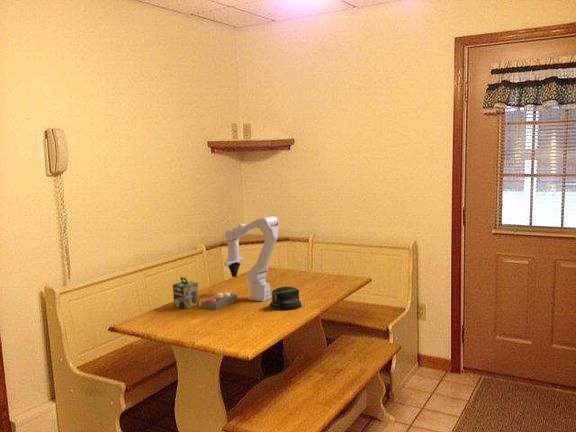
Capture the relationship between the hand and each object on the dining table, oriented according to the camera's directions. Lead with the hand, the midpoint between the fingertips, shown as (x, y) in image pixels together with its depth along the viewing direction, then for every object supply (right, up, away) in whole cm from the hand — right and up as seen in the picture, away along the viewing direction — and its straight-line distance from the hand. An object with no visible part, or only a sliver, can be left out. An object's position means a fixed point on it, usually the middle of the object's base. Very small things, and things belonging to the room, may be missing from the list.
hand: (234, 276), depth 288 cm
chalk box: (-22, -13, -18) cm, 31 cm away
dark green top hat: (+27, -12, -21) cm, 37 cm away
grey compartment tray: (-6, -12, -16) cm, 21 cm away
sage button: (-3, -10, -11) cm, 15 cm away
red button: (-9, -12, -21) cm, 26 cm away
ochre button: (-6, -10, -16) cm, 20 cm away
